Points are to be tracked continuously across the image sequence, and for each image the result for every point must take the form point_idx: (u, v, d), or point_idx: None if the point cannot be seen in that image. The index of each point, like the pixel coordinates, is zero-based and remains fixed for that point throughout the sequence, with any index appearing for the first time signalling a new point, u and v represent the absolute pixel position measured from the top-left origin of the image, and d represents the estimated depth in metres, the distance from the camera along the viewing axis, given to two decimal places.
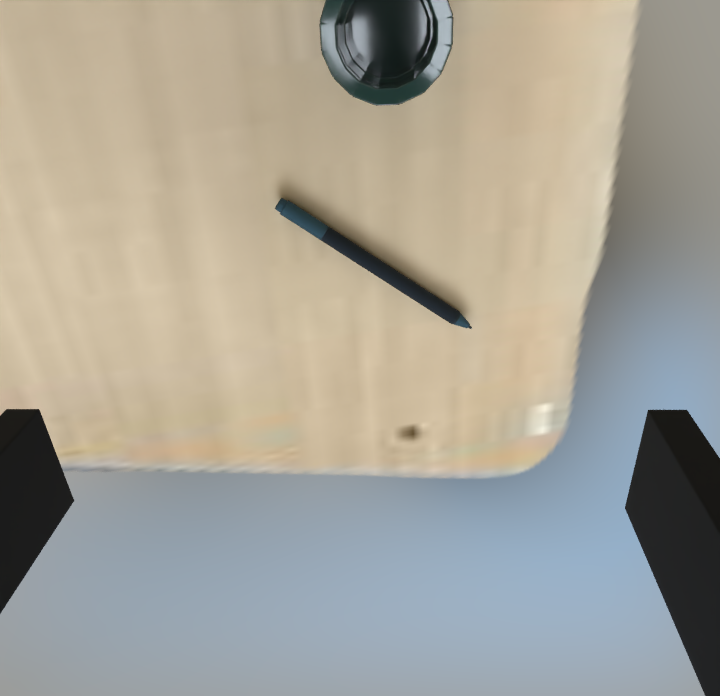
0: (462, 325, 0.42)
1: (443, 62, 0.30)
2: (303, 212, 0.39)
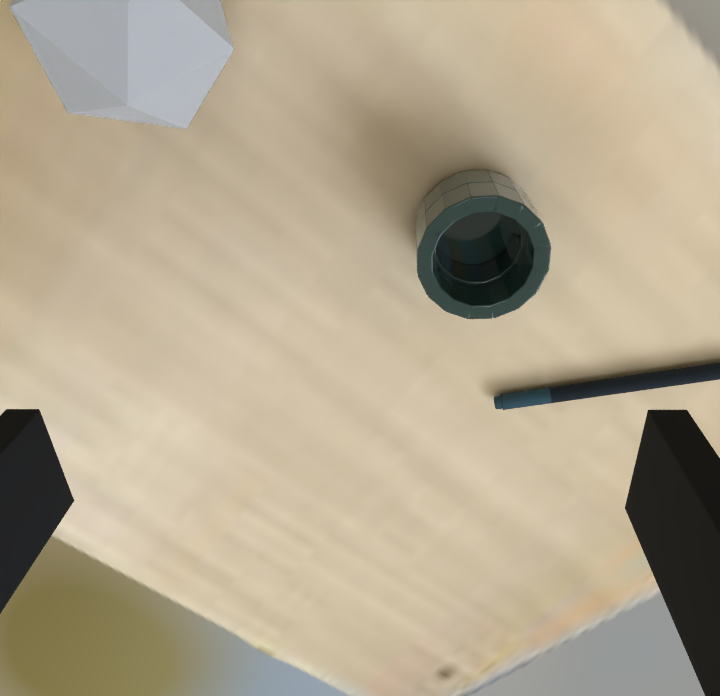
0: None
1: (545, 238, 0.29)
2: (520, 395, 0.39)
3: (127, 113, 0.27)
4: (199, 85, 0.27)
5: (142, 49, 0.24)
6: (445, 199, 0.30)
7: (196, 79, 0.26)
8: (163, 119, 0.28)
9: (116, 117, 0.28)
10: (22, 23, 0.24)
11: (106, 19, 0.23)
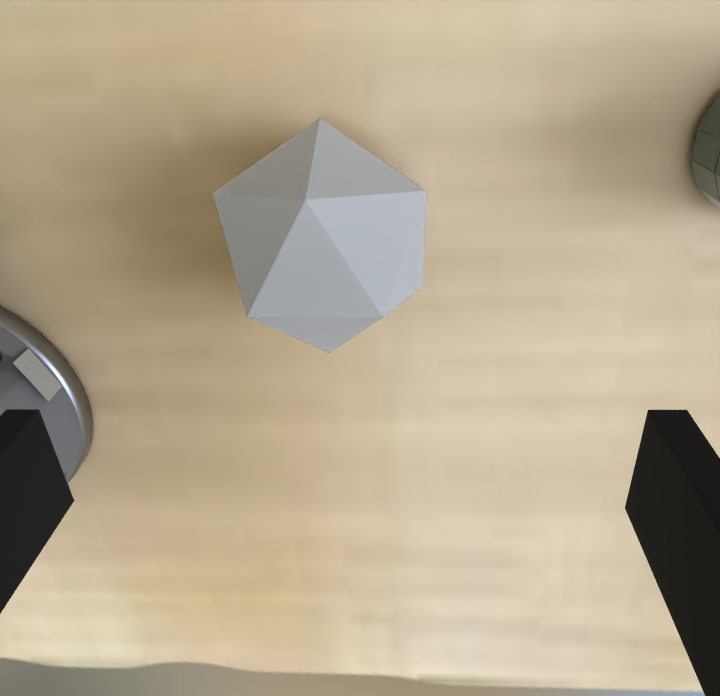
0: None
1: None
2: None
3: None
4: (417, 245, 0.25)
5: (363, 262, 0.22)
6: None
7: (413, 243, 0.24)
8: (407, 297, 0.26)
9: None
10: (262, 320, 0.24)
11: (322, 264, 0.22)
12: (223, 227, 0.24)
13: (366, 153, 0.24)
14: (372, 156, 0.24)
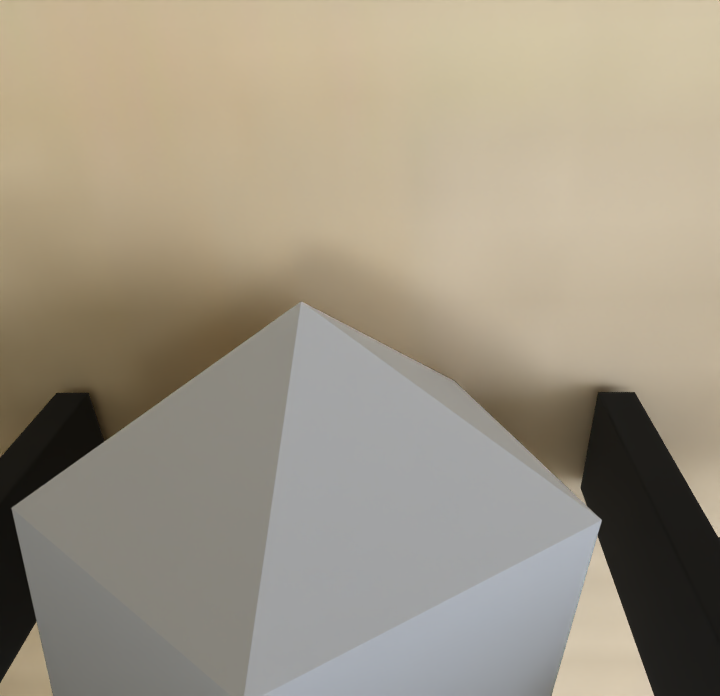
0: None
1: None
2: None
3: None
4: None
5: None
6: None
7: None
8: None
9: None
10: None
11: None
12: (36, 612, 0.09)
13: (429, 408, 0.09)
14: (445, 416, 0.09)
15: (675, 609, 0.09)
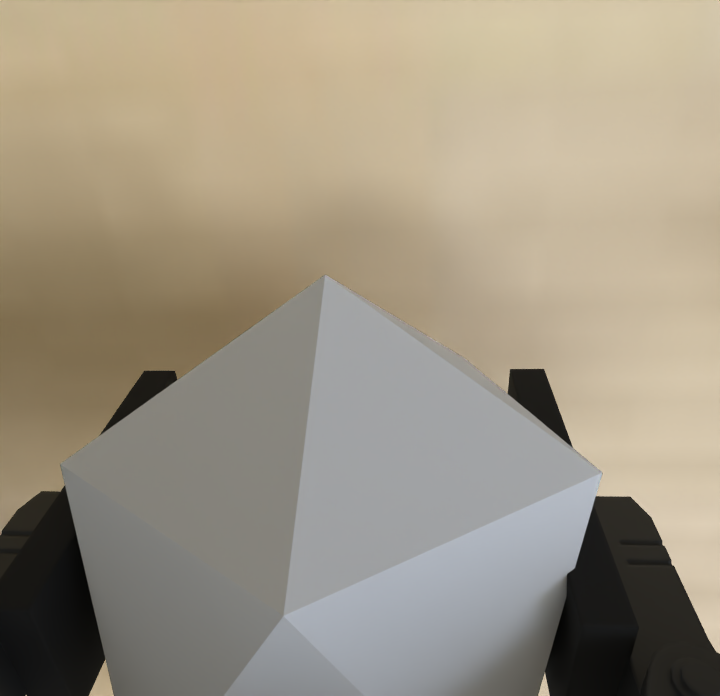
0: None
1: None
2: None
3: None
4: None
5: None
6: None
7: None
8: None
9: None
10: None
11: None
12: (84, 558, 0.10)
13: (444, 371, 0.09)
14: (458, 379, 0.09)
15: None
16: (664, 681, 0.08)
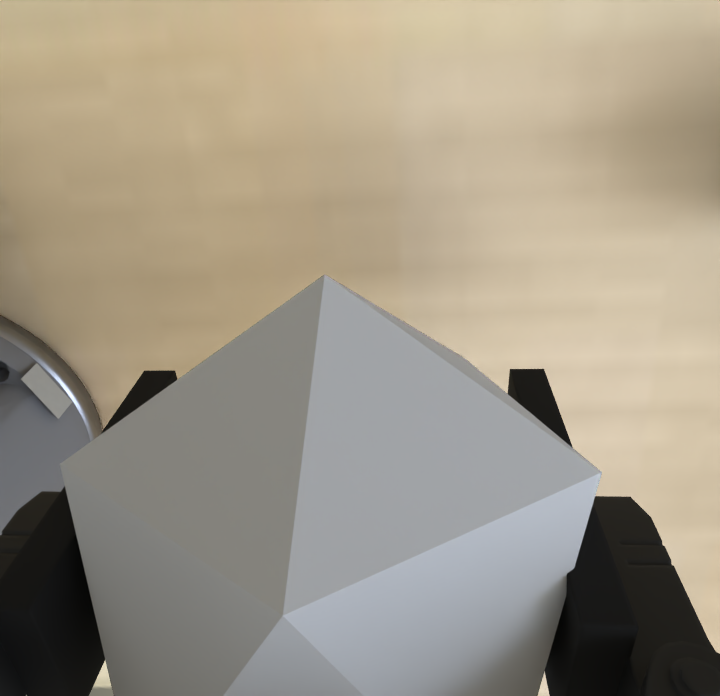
0: None
1: None
2: None
3: None
4: None
5: None
6: None
7: None
8: None
9: None
10: None
11: None
12: (84, 557, 0.10)
13: (443, 371, 0.09)
14: (457, 378, 0.09)
15: None
16: (664, 681, 0.08)
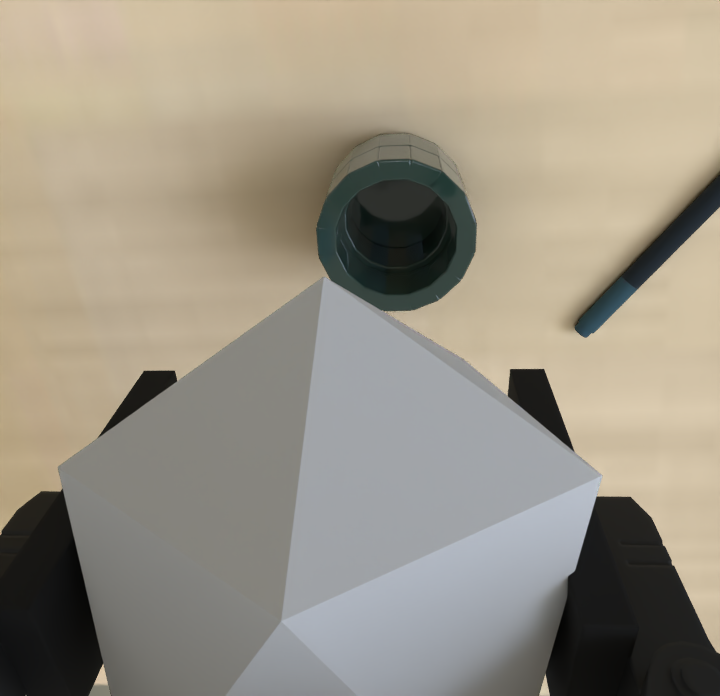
0: None
1: (430, 169, 0.23)
2: (596, 306, 0.31)
3: None
4: None
5: None
6: None
7: None
8: None
9: None
10: None
11: None
12: (82, 561, 0.09)
13: (443, 373, 0.09)
14: (457, 381, 0.09)
15: None
16: (664, 681, 0.08)
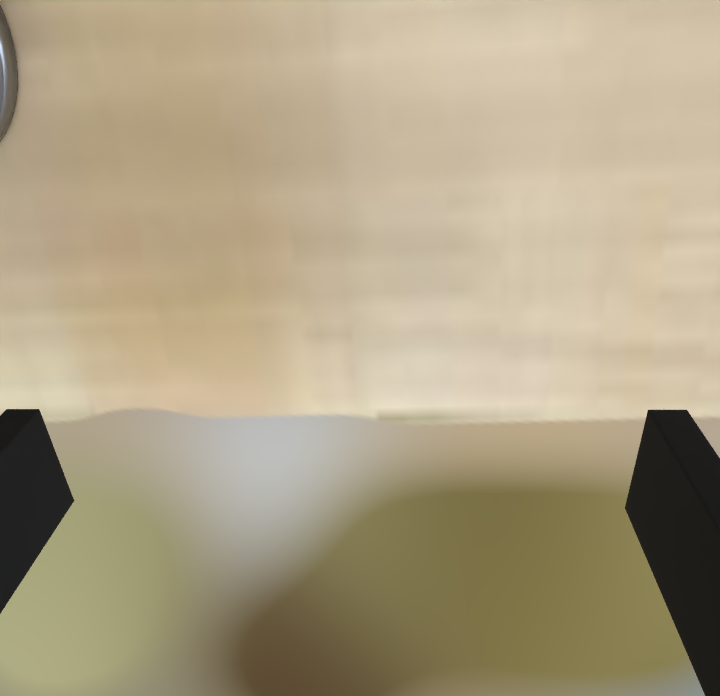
0: None
1: None
2: None
3: None
4: None
5: None
6: None
7: None
8: None
9: None
10: None
11: None
12: None
13: None
14: None
15: None
16: None
